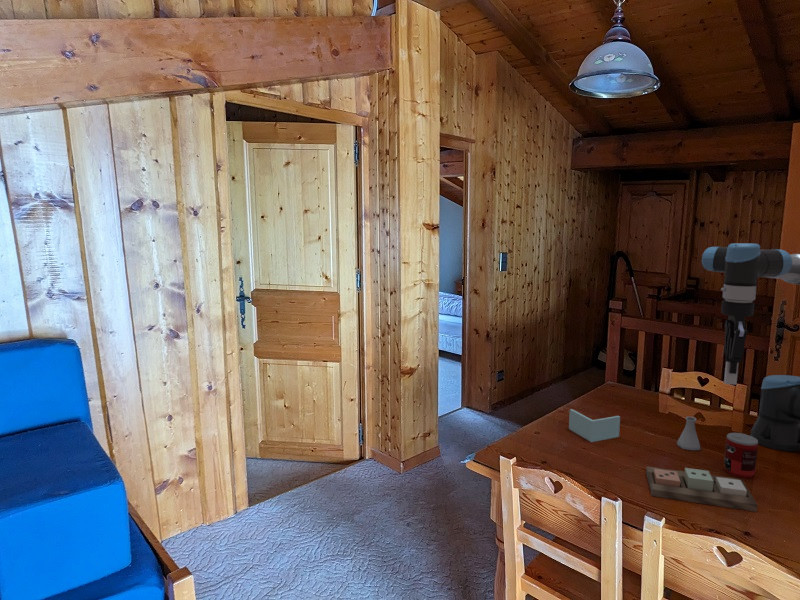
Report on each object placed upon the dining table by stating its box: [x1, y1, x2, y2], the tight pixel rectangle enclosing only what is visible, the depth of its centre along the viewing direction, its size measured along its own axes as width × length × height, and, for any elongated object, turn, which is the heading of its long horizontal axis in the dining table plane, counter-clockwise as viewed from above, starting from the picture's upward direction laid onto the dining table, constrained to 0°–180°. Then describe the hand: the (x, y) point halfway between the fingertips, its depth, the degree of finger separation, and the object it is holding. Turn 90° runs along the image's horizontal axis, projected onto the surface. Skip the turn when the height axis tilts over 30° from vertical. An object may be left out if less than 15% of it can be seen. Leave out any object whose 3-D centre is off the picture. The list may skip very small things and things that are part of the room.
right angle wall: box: [568, 408, 621, 443], centre depth 186 cm, size 12×12×8 cm
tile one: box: [715, 477, 747, 497], centre depth 144 cm, size 6×6×3 cm
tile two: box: [684, 467, 713, 492], centre depth 146 cm, size 6×6×3 cm
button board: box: [645, 465, 758, 513], centre depth 147 cm, size 25×14×2 cm, turn 71°
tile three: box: [653, 467, 680, 487], centre depth 149 cm, size 6×6×3 cm
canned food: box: [723, 432, 759, 479], centre depth 156 cm, size 8×8×11 cm
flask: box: [676, 416, 701, 451], centre depth 174 cm, size 7×7×10 cm
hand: (730, 383), depth 145 cm, fingers closed
